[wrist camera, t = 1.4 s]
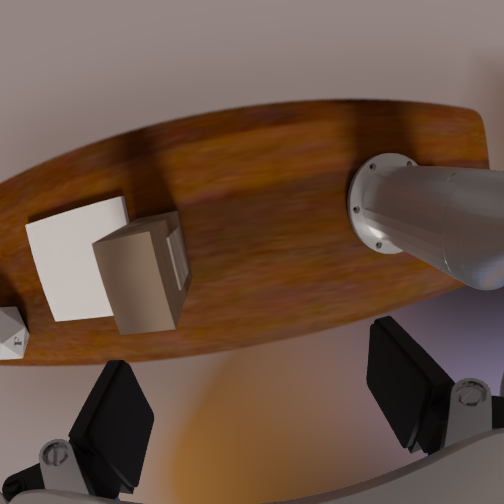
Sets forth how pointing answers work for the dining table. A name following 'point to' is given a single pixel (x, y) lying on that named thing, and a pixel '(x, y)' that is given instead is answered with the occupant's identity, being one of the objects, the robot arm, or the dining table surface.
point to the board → (75, 257)
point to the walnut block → (145, 273)
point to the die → (12, 334)
